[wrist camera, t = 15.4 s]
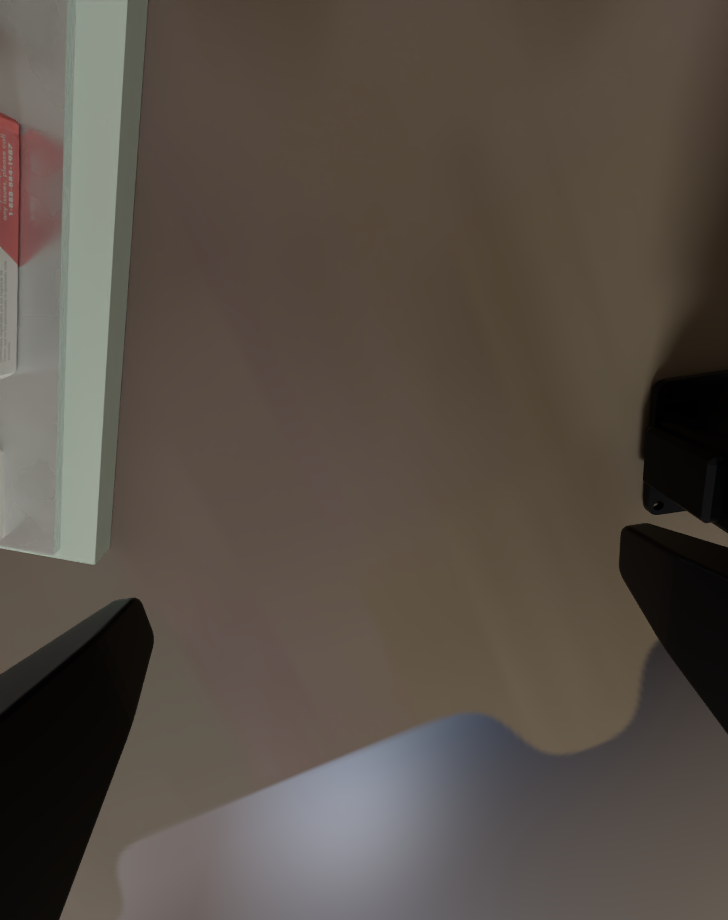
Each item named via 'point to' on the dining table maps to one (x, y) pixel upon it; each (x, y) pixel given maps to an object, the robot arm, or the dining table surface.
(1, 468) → the block
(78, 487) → the panel
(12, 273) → the ink cartridge box
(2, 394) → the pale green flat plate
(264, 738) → the dining table surface
